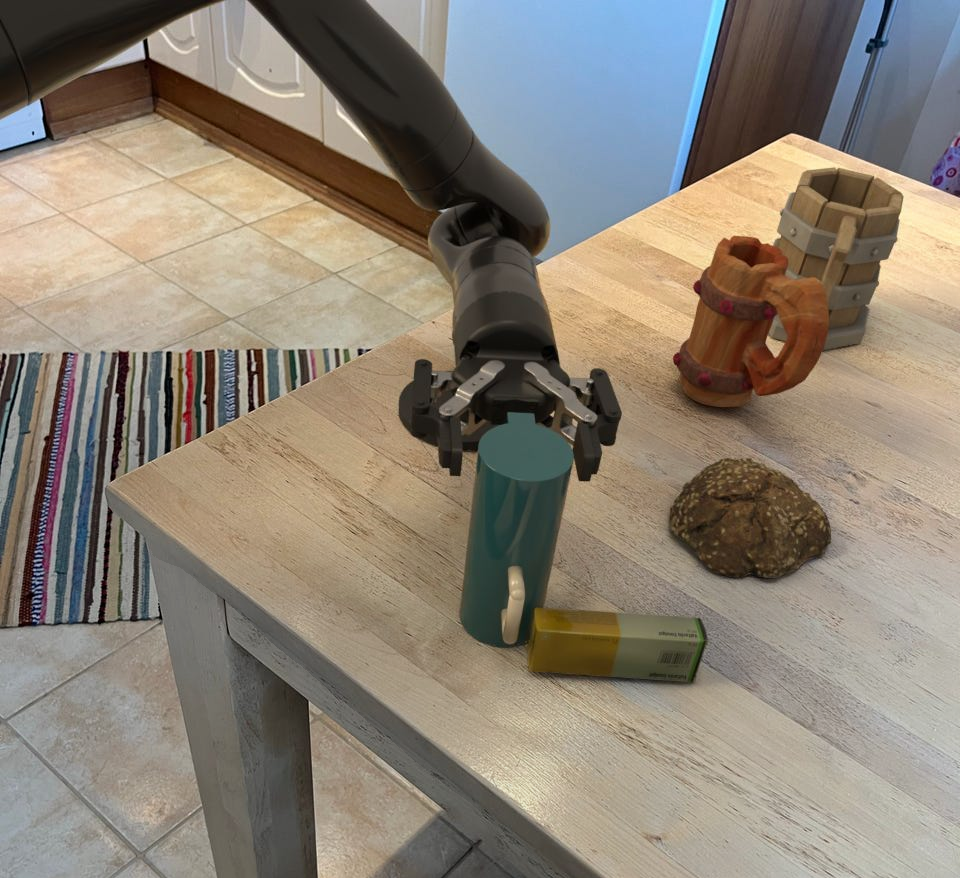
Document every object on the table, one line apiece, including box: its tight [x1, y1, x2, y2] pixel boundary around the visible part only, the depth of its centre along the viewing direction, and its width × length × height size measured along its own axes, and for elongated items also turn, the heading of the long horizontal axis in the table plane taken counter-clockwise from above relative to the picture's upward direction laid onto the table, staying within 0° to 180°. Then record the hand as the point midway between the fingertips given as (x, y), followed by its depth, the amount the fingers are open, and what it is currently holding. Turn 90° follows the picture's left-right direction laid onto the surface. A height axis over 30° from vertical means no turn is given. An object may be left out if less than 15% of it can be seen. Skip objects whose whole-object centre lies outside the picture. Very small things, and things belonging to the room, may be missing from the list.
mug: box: [672, 235, 829, 408], centre depth 88 cm, size 15×8×15 cm, turn 27°
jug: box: [459, 412, 574, 648], centre depth 66 cm, size 10×6×15 cm, turn 2°
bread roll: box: [668, 457, 832, 579], centre depth 79 cm, size 13×12×5 cm
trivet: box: [397, 370, 499, 452], centre depth 88 cm, size 11×11×1 cm
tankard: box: [768, 166, 904, 351], centre depth 99 cm, size 20×13×15 cm, turn 160°
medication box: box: [524, 607, 709, 684], centre depth 68 cm, size 12×3×4 cm, turn 91°
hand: (522, 468), depth 63 cm, fingers open, 8 cm apart
